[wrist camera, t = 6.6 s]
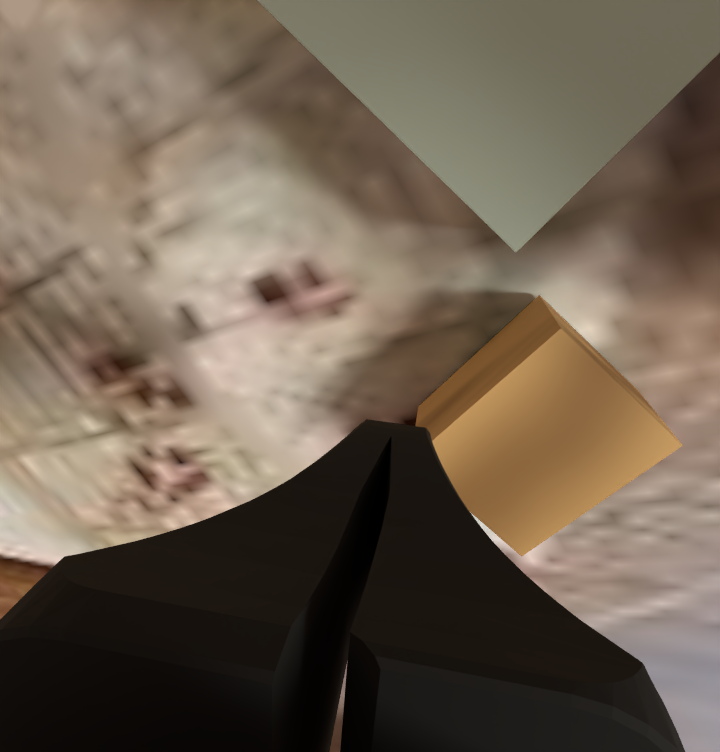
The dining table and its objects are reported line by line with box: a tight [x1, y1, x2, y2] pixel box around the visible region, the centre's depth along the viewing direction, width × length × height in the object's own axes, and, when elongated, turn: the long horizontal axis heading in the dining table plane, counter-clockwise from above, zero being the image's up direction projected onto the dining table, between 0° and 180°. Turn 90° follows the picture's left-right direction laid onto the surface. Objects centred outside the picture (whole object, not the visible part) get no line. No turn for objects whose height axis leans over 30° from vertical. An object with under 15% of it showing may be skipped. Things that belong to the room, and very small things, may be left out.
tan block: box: [416, 295, 682, 556], centre depth 18 cm, size 5×6×4 cm
